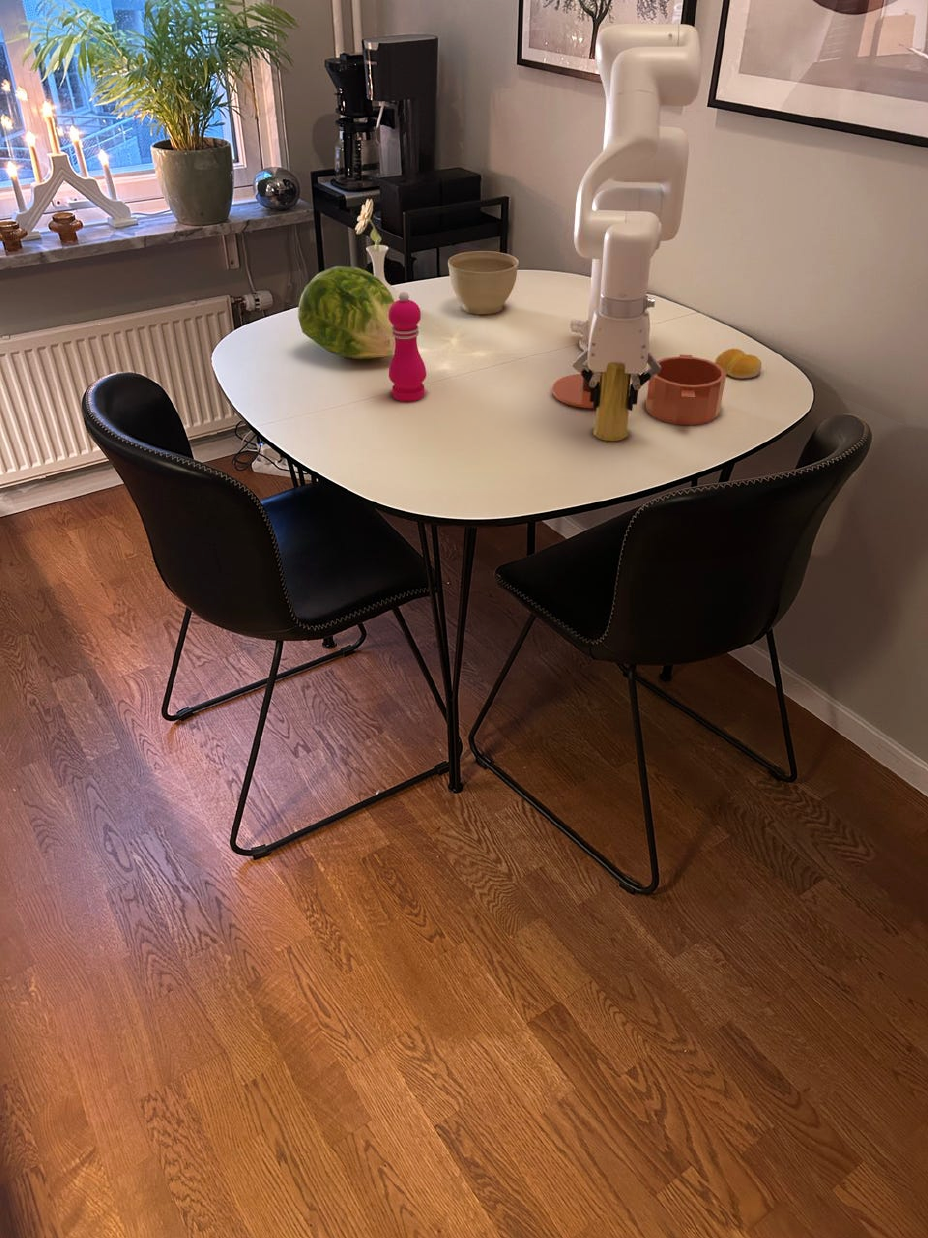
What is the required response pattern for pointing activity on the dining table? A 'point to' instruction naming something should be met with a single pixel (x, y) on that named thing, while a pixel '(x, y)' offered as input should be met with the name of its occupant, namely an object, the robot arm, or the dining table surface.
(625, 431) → the vase
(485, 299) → the planter bowl
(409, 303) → the pepper mill
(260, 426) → the dining table surface
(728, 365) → the bread roll
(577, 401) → the crock lid
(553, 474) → the dining table surface
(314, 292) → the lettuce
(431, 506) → the dining table surface
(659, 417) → the crock
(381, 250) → the flower in vase
